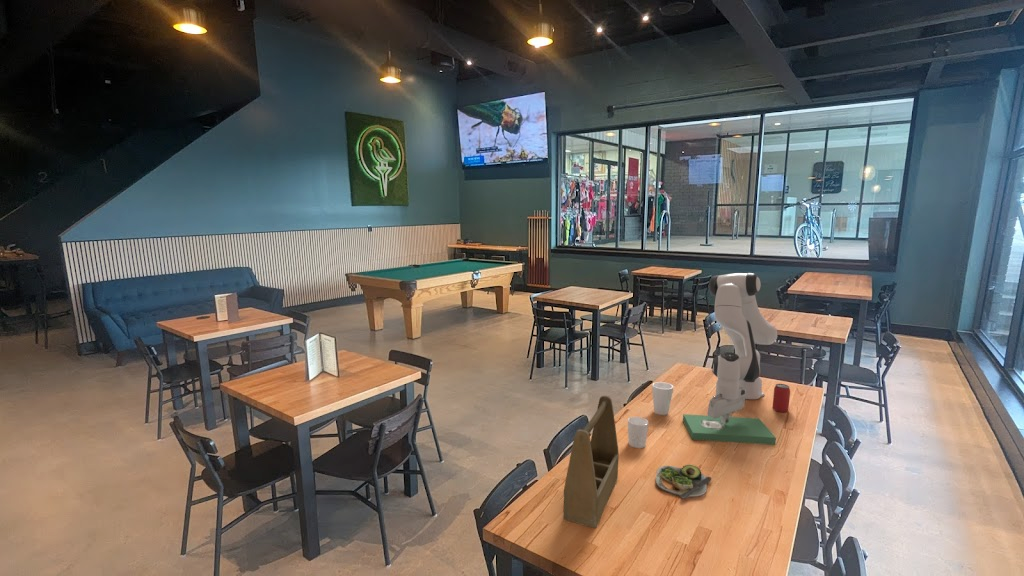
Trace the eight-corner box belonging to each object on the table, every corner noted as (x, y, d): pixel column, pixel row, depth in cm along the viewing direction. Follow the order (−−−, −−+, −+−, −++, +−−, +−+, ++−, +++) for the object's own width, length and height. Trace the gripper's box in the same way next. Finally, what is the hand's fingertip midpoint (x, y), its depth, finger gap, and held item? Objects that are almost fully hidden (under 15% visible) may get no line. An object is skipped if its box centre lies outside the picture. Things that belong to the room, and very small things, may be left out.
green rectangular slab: (682, 420, 212) (683, 414, 211) (758, 424, 207) (759, 418, 207) (692, 439, 194) (692, 432, 194) (775, 444, 190) (776, 437, 189)
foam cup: (669, 408, 225) (670, 382, 223) (674, 416, 216) (675, 389, 214) (649, 407, 226) (650, 381, 224) (652, 415, 217) (654, 388, 214)
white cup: (624, 446, 189) (625, 422, 187) (629, 437, 196) (630, 415, 194) (644, 450, 185) (645, 426, 183) (649, 442, 192) (650, 419, 190)
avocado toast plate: (709, 509, 149) (710, 496, 148) (651, 495, 157) (651, 482, 156) (711, 478, 167) (712, 466, 166) (658, 467, 174) (659, 455, 173)
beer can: (787, 414, 218) (789, 389, 216) (771, 410, 222) (773, 386, 220) (789, 409, 224) (791, 385, 222) (773, 406, 227) (775, 382, 226)
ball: (718, 424, 203) (717, 419, 201) (719, 432, 201) (719, 428, 198) (708, 424, 205) (707, 420, 202) (709, 433, 202) (709, 428, 199)
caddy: (596, 529, 139) (599, 434, 135) (562, 519, 144) (563, 427, 139) (618, 479, 166) (621, 397, 161) (588, 472, 170) (590, 392, 165)
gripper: (718, 399, 190) (716, 431, 192) (748, 389, 201) (746, 420, 203) (704, 394, 196) (702, 425, 198) (735, 384, 206) (732, 414, 208)
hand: (724, 422), depth 200 cm, fingers closed
